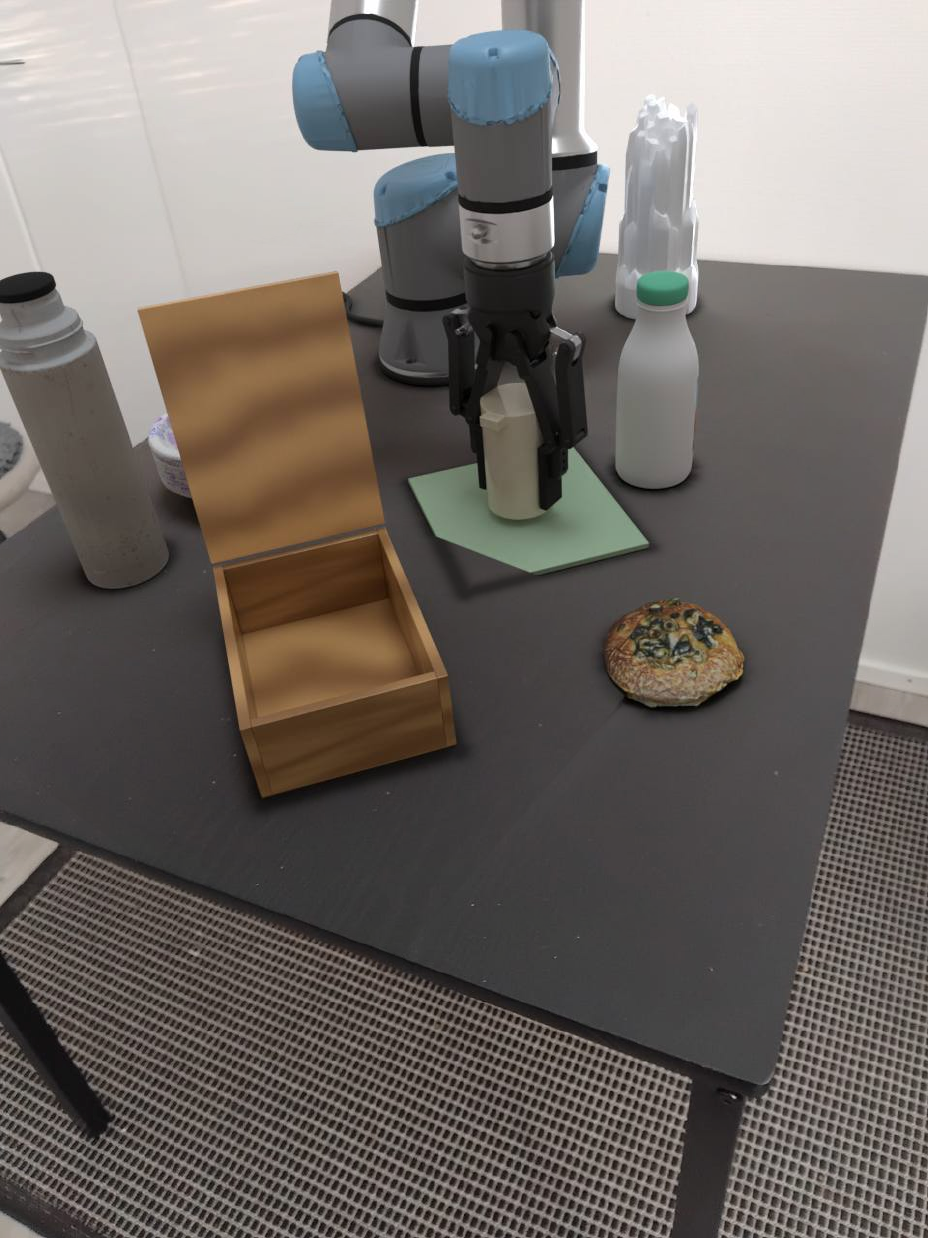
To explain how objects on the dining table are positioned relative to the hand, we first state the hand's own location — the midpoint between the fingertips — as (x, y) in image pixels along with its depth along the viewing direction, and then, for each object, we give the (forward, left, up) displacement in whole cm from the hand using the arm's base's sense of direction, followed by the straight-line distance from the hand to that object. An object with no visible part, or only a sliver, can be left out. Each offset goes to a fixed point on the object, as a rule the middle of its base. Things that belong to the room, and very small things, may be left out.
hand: (520, 492), depth 95 cm
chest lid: (+7, -22, +16) cm, 28 cm away
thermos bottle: (-7, -38, -3) cm, 39 cm away
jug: (0, 0, -1) cm, 1 cm away
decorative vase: (-40, +33, -3) cm, 52 cm away
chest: (+18, -22, -3) cm, 28 cm away
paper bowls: (-17, -26, -3) cm, 31 cm away
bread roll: (+25, +4, -3) cm, 25 cm away
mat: (0, 0, -3) cm, 3 cm away
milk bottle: (-2, +15, -3) cm, 15 cm away
